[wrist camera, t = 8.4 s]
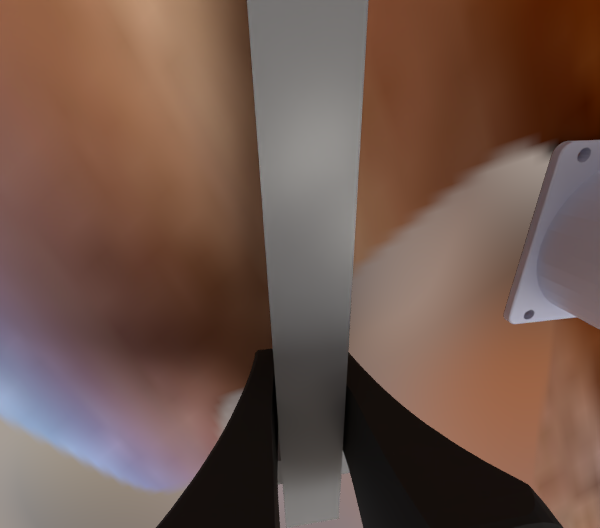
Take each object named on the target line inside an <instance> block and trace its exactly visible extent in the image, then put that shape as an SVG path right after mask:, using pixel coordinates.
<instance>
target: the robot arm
mask: <svg viewBox="0 0 600 528" xmlns="http://www.w3.org/2000/svg"><path fill="white" fill-rule="evenodd" d="M579 152H580V154H579ZM578 154H579V156H578ZM574 317H578V318H580V319H581V320H583V321H585V322H587V323H589V324H591V325H592V326H594V327H596V328H598V329H600V140H579V141H565V142H562V143H561V144H559V145H558V146H557V147H556V148H555V149H554V151H553V153H552V155H551V158H550V162H549V165H548V168H547V171H546V175H545V178H544V181H543V185H542V188H541V192H540V195H539V198H538V201H537V205H536V208H535V211H534V214H533V218H532V221H531V224H530V228H529V231H528V234H527V238H526V241H525V244H524V247H523V251H522V254H521V258H520V261H519V264H518V267H517V271H516V274H515V277H514V281H513V284H512V287H511V290H510V294H509V297H508V301H507V304H506V307H505V310H504V318H505V319H506V320H507V321H509V322H510V323H512V324H521V323H530V322H538V321H548V320H557V319H565V318H574ZM343 452H344V455H345V458H346V462H347V465H348V468H349V471H350V474H351V478H352V482H353V485H354V490H355V494H356V498H357V503H358V506H359V511H360V515H361V519H362V524H363V528H563V527H562V525H561V524H560V523H559V522H558V520H557V519H556V518H555V516H554V515H553V514H552V512H551V511H550V510H549V509H548V507H547V506H546V505H545V503H544V502H543V501H542V500H541V499H540V497H539V496H538V495H537V494H536V493H535V492H534V491H533V489H532V488H531V487H530V486H529V485H528V484H526V483H524V482H523V481H521V480H519V479H517V478H515V477H513V476H511V475H509V474H507V473H506V472H503V471H501V470H500V469H498V468H496V467H494V466H492V465H491V464H489V463H487V462H485V461H483V460H481V459H480V458H478V457H477V456H475V455H473V454H472V453H470V452H468V451H466V450H465V449H463V448H461V447H460V446H458V445H457V444H455V443H454V442H452V441H450V440H449V439H448V438H446V437H445V436H443V435H442V434H440V433H439V432H437V431H436V430H434V429H433V428H431V427H430V426H428V425H427V424H425V423H424V422H423V421H421V420H420V419H419V418H417V417H416V416H415V415H414V414H412V413H411V412H410V411H409V410H407V409H406V408H405V407H403V406H402V405H401V404H400V403H399V402H398V401H396V400H395V399H394V398H393V397H392V396H391V395H390V394H389V393H387V392H386V391H385V390H384V389H383V388H382V387H381V386H380V385H379V384H378V383H377V382H376V381H375V380H374V379H373V378H372V377H371V376H370V375H369V374H368V373H367V372H366V371H365V370H364V369H363V368H362V367H361V366H360V365H359V364H358V363H357V362H356V360H355V359H354V358H353V357H352V356H351V355H350V353H349V352H348V365H347V382H346V400H345V417H344V435H343ZM156 528H280V522H279V505H278V413H277V399H276V386H275V372H274V359H273V349H265V350H258V351H257V352H256V353H255V358H254V362H253V366H252V369H251V372H250V375H249V377H248V380H247V383H246V385H245V388H244V390H243V393H242V395H241V397H240V399H239V401H238V403H237V406H236V408H235V410H234V412H233V414H232V416H231V418H230V420H229V422H228V424H227V426H226V427H225V429H224V431H223V433H222V434H221V436H220V438H219V440H218V441H217V443H216V445H215V446H214V448H213V450H212V451H211V453H210V454H209V456H208V457H207V459H206V461H205V462H204V464H203V465H202V467H201V468H200V470H199V471H198V473H197V474H196V476H195V477H194V478H193V480H192V481H191V483H190V484H189V485H188V487H187V488H186V489H185V491H184V492H183V494H182V495H181V496H180V498H179V499H178V501H177V502H176V503H175V504H174V506H173V507H172V508H171V510H170V511H169V512H168V514H167V515H166V516H165V517H164V519H163V520H162V521H161V522H160V524H159V525H158V526H157V527H156Z"/></svg>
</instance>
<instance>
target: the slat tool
mask: <svg viewBox="0 0 600 528" xmlns="http://www.w3.org/2000/svg"><path fill="white" fill-rule="evenodd" d="M247 8H248V21H249V35H250V48H251V62H252V75H253V89H254V102H255V116H256V129H257V143H258V156H259V170H260V183H261V197H262V210H263V224H264V237H265V251H266V264H267V278H268V291H269V305H270V318H271V332H272V345H273V359H274V372H275V386H276V399H277V413H278V484H283V494H284V507H285V521H286V528H289V527H295V526H300V525H306V524H311V523H316V522H322V521H327V520H333V519H338V518H339V504H340V486H341V474H345V473H350V471H349V468H348V465H347V462H346V458H345V455H344V452H343V435H344V417H345V400H346V382H347V365H348V347H349V329H350V313H351V295H352V278H353V260H354V243H355V225H356V208H357V190H358V173H359V156H360V138H361V121H362V103H363V86H364V68H365V51H366V33H367V16H368V0H247Z"/></svg>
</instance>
